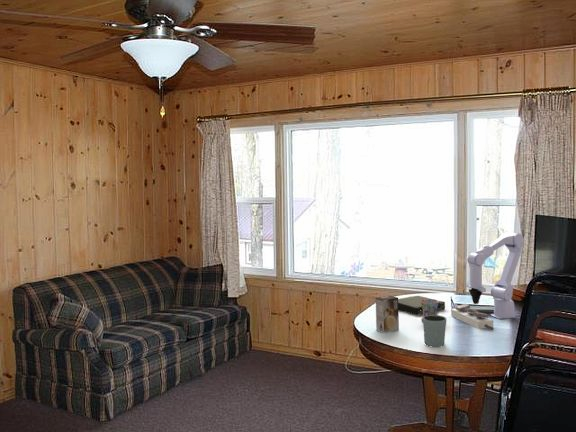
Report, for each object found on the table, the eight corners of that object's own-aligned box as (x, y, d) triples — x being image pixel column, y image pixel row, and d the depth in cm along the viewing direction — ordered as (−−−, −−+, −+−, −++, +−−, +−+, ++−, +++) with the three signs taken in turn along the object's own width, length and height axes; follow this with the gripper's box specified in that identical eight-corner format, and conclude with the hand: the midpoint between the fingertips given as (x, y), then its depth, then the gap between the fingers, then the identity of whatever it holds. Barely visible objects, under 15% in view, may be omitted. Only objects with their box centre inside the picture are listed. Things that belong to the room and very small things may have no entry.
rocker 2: (474, 312, 290) (475, 309, 290) (478, 314, 286) (479, 311, 286) (464, 309, 289) (465, 307, 289) (468, 311, 285) (469, 308, 285)
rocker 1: (466, 306, 298) (465, 303, 298) (470, 307, 294) (469, 305, 294) (455, 309, 297) (455, 306, 296) (459, 311, 293) (459, 308, 292)
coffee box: (391, 327, 281) (390, 295, 279) (399, 330, 275) (398, 297, 274) (375, 330, 276) (375, 297, 275) (383, 333, 271) (383, 299, 269)
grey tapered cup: (431, 339, 259) (431, 313, 258) (451, 344, 251) (451, 317, 250) (418, 344, 252) (418, 317, 251) (437, 349, 245) (437, 322, 244)
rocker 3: (483, 315, 282) (483, 313, 282) (487, 317, 278) (488, 314, 278) (472, 314, 281) (473, 311, 281) (476, 316, 277) (477, 313, 277)
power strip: (465, 314, 301) (465, 307, 301) (499, 330, 271) (499, 322, 270) (451, 315, 300) (451, 308, 299) (484, 331, 269) (484, 323, 269)
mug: (438, 324, 283) (437, 303, 282) (419, 323, 287) (418, 302, 286) (441, 318, 294) (441, 298, 293) (422, 317, 298) (422, 297, 297)
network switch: (421, 317, 299) (421, 308, 299) (387, 309, 318) (387, 300, 317) (448, 309, 314) (448, 300, 314) (414, 302, 332) (414, 294, 332)
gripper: (461, 274, 293) (461, 301, 294) (476, 280, 279) (476, 307, 280) (473, 274, 294) (473, 300, 295) (489, 279, 280) (489, 306, 281)
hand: (475, 303), depth 288 cm, fingers closed
